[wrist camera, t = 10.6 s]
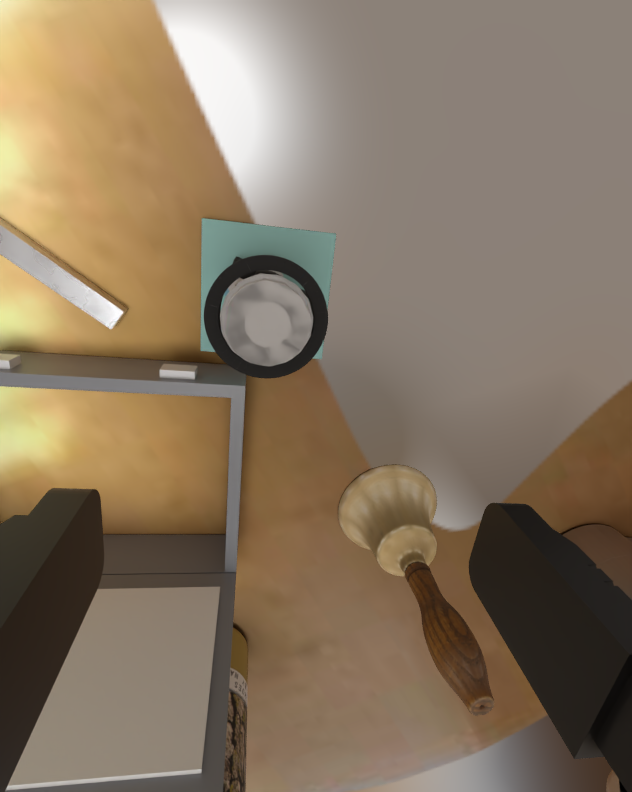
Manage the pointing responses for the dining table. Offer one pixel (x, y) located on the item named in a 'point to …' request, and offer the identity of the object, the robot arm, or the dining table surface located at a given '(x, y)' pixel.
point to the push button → (265, 316)
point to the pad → (252, 240)
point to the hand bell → (416, 568)
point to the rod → (59, 276)
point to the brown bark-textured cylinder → (237, 717)
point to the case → (142, 621)
